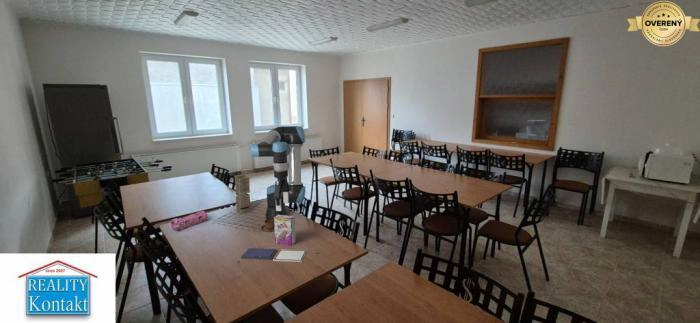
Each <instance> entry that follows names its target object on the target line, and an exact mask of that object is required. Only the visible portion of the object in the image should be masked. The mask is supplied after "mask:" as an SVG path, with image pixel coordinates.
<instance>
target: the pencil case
mask: <svg viewBox="0 0 700 323" xmlns="http://www.w3.org/2000/svg"><path fill="white" fill-rule="evenodd" d="M207 221H208V213H207V212H205V210H203V209H202V210H199V211H197V212H195V213H191V214H189V215H187V216H186V215H185V216H184V217H181V218H173V219H171V220H170V226H171V228H172V230H173V231H175V232H176V233H177V232H180V231H182V230H185V229H187V228H190V227H192V226H195V225H198V224H202V223H206V222H207Z"/></svg>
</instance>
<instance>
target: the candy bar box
mask: <svg viewBox="0 0 700 323" xmlns="http://www.w3.org/2000/svg"><path fill="white" fill-rule="evenodd" d="M273 230H275V231H274V243H275V244H277V245H284V246H285V245H286V246H294V244H295V243H296V241H297V240H296V217H295V216H293V215H287V216H285V215H277V216H275V217H274V229H273Z"/></svg>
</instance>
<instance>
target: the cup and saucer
mask: <svg viewBox="0 0 700 323" xmlns="http://www.w3.org/2000/svg"><path fill="white" fill-rule="evenodd" d="M260 228H261V230H262V231H263V232H267V233H270V232H275V229H274V219H264V224H263V225H262V226H260ZM264 228H265V229H264Z"/></svg>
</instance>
